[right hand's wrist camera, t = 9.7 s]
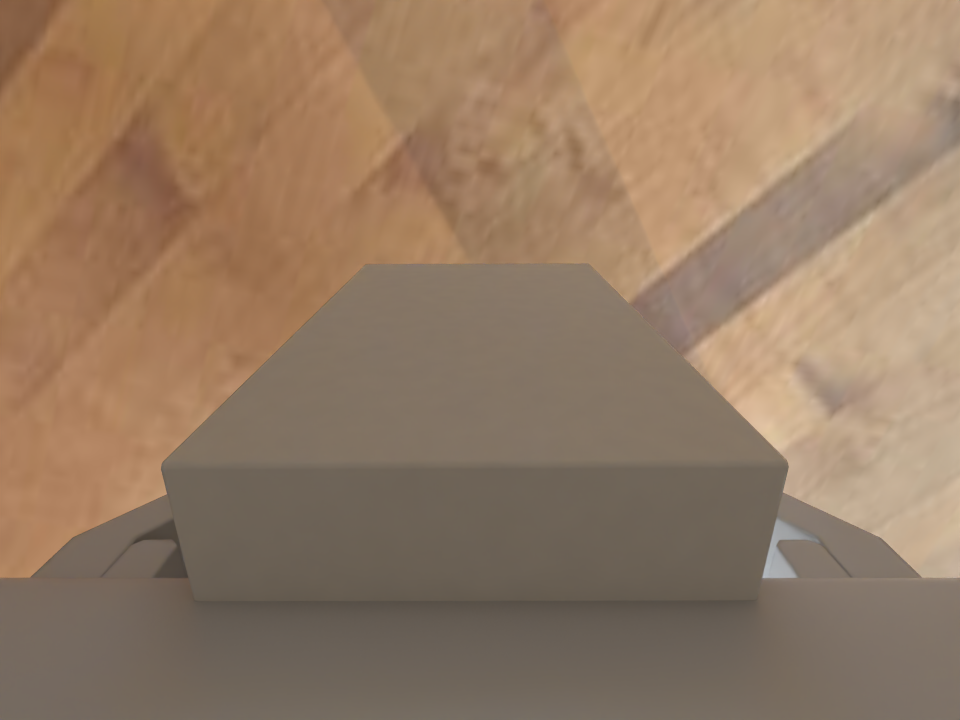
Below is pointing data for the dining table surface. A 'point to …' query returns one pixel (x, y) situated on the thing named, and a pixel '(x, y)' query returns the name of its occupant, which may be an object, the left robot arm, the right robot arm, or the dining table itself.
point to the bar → (475, 453)
